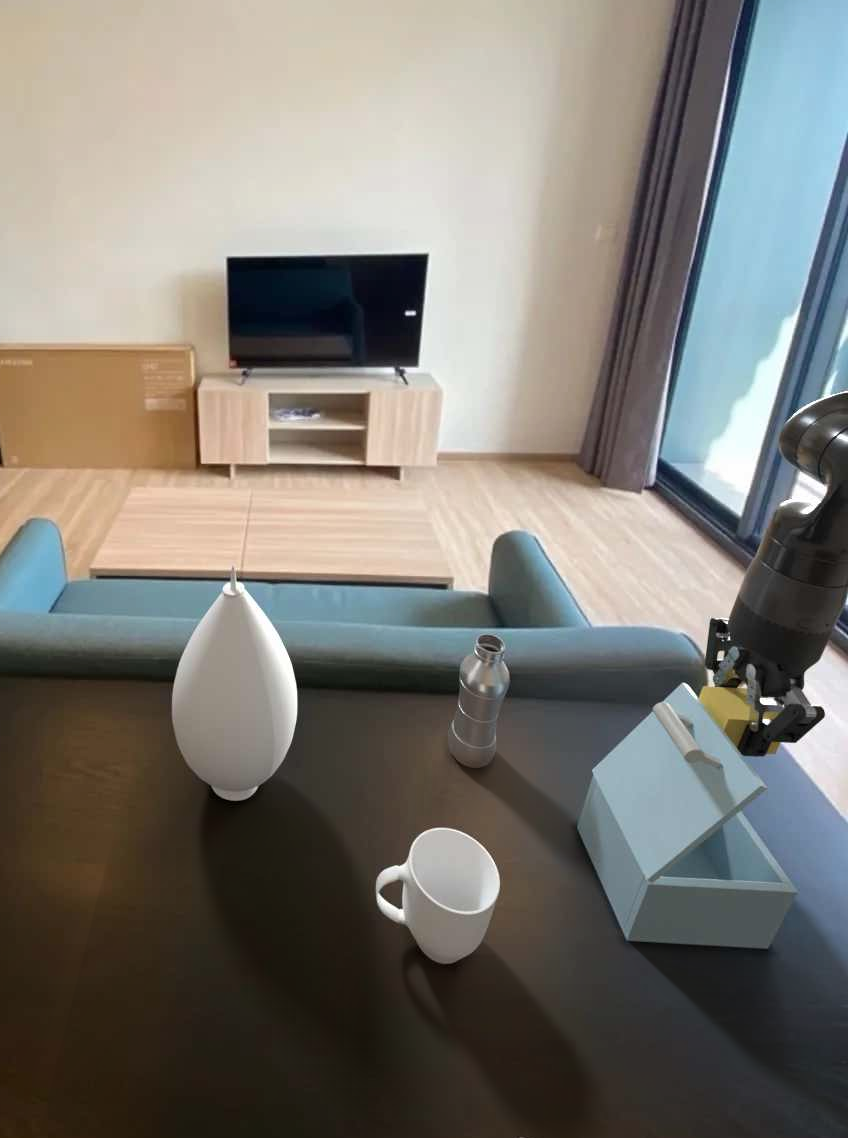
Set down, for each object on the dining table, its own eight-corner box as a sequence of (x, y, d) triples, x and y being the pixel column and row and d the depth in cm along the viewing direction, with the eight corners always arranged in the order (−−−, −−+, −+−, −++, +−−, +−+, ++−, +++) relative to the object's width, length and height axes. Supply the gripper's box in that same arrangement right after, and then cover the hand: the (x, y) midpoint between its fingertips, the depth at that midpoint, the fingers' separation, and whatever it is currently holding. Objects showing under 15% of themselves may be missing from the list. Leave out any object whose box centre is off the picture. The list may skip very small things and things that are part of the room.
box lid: (688, 684, 71) (651, 668, 71) (768, 788, 60) (725, 769, 59) (596, 772, 77) (562, 758, 77) (653, 883, 66) (613, 866, 65)
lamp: (287, 846, 79) (297, 617, 65) (162, 826, 81) (146, 601, 68) (298, 740, 93) (308, 534, 80) (192, 726, 96) (184, 523, 82)
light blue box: (696, 835, 81) (719, 780, 77) (766, 951, 69) (798, 892, 65) (576, 829, 81) (593, 774, 77) (625, 943, 70) (648, 884, 66)
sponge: (747, 719, 71) (760, 688, 70) (775, 754, 67) (790, 722, 65) (691, 716, 72) (702, 686, 70) (715, 751, 67) (728, 719, 66)
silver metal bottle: (446, 769, 89) (466, 656, 81) (444, 730, 95) (463, 622, 87) (495, 779, 88) (520, 666, 80) (490, 739, 94) (513, 630, 86)
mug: (472, 901, 73) (488, 830, 69) (490, 992, 65) (510, 919, 61) (368, 889, 75) (377, 818, 70) (374, 978, 66) (384, 905, 62)
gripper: (890, 658, 56) (819, 795, 63) (775, 563, 69) (727, 685, 76) (800, 654, 56) (739, 791, 63) (703, 560, 69) (661, 681, 76)
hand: (733, 732), depth 69 cm, fingers closed on sponge, 4 cm apart
